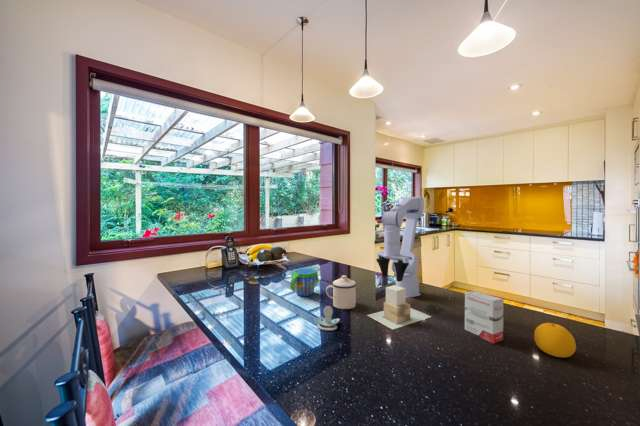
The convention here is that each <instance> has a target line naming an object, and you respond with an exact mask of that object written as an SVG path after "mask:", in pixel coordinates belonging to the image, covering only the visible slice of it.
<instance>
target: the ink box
mask: <svg viewBox="0 0 640 426" xmlns="http://www.w3.org/2000/svg"><path fill="white" fill-rule="evenodd" d="M464 330H465V331H468V332H470V333H472V334H474V335H476V337H477V338H479V339H481V340H484V341H485V342H488V343H491V344H496V343H499V342H502V341H504V299H503V298H500V297H496V296H494V295H489V294H486V293H482V292H479V291H476V290H474V291H469V292H468V291H467V292H465V293H464Z"/></svg>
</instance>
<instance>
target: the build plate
mask: <svg viewBox="0 0 640 426" xmlns="http://www.w3.org/2000/svg"><path fill="white" fill-rule="evenodd" d="M366 316H367V317H369V318H371V319H373V320H375V321H376V322H379V323H380V324H382V325H384V326H385V327H387V328H389V329H390V330H396V329H399V328H402V327H405V326H408V325H411V324H414V323H417V322H419V321H423V320H426V319H430V318H432V315H429V314H426V313H424V312H422V311H419V310H417V309H414V308H412V307H410V320H408V321H405V322H401V323H398V324H396V323H395V322H393V321H391V320H389V319H387V318H385V317H384V310H381V311H378V312H374V313H370V314H366Z"/></svg>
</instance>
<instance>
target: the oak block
mask: <svg viewBox="0 0 640 426" xmlns="http://www.w3.org/2000/svg"><path fill="white" fill-rule="evenodd" d="M410 308H411V304H410V303H407V302H405V304H402V305H399V306H394V305H392V304H389V303H386V301H383V311H384V317H385V318H387V319H389V320H391V321H393V322H395V323H396V324H398V323H401V322H405V321H408V320H410Z"/></svg>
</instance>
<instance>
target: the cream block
mask: <svg viewBox="0 0 640 426" xmlns="http://www.w3.org/2000/svg"><path fill="white" fill-rule="evenodd" d="M385 302H386V303H389V304H392V305H394V306H399V305H402V304H405V303H406V298H405V288H402V287H399V286H396V284H393V285H390V286H386V287H385Z"/></svg>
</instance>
